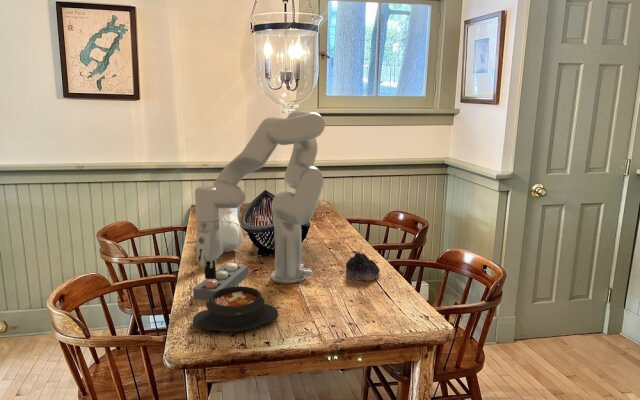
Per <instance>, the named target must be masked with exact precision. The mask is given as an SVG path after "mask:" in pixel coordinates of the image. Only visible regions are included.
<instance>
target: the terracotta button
mask: <svg viewBox="0 0 640 400" xmlns="http://www.w3.org/2000/svg"><path fill="white" fill-rule="evenodd" d="M217 287H218V284H217V280H216V279H209V280H206V281H205V288H208V289H216V288H217Z"/></svg>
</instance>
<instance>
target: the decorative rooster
mask: <svg viewBox="0 0 640 400" xmlns="http://www.w3.org/2000/svg"><path fill="white" fill-rule="evenodd" d="M237 209H238V207H237V208H220V228H221V233H222V241H223V253H229V252H233V251H234V250H237V249H238V248H239V247H240V246H241V245H242V242H243V232H242V229H241V225H240V222H239V217H238V215H237Z"/></svg>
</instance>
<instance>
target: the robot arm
mask: <svg viewBox="0 0 640 400" xmlns="http://www.w3.org/2000/svg"><path fill="white" fill-rule="evenodd" d="M325 127H326V123H325V119H324V118H323V116H322V115H320V114H319V113H317V112H314V111H304V110H294V111H291V112H290V113H288V115H287V117H285V118H282V117H281V118H280V117H272V116H271V117H267V118H265V119H263V120H262V121H261V123H260V124H259V125H258V127H257V128H256V130H255V132H254V133H253V135H252V136H251V138H250V139H249V141H248V143H247V144H246V146H245V147H244V149H243V150H242V151H241V152H240V153H239V154H238V155H237V156H236V157H234V159H231V161H230V162H229V163H227V165H226V166H225V167H224V168H223V169H222V170H221V171H220V174H219V175H218V176H217V178H216V179H215V180H214V183H213V184H212V185H202V186H199V187H198V186H197V187H196V188H195V190H194V203H195V221H196V222H195V223H196V224H195V225H196V227H195V228H196V231H197V233H196V259H197V261H198V260H199V261H200V266H204V268H205V271H204V279H214V278H216V271H217V267H216V266H217V259H218V258H219V257H220V256H222V255H223V253H224V252H223V241H222V233H221V228H220V208H237V207H239V206H240V207H241V206H242V205H243V204H244V202H245V200H246V193H245V191H244V190H243V189H242V188H241V187H240V186H238V184H239V183H240V182H241V180H242V179H243V178H245V176H247V175H248V174H250V173H252V172H256V171H257V170H260V169H262V168H263V167H264V166H265V165H266V164H267V162H268V161H269V159H270V157H271V156H272V154H273V152H274V151H275V150H276V148H277V147H278V145H280V146H288V145H289V146H290V145H293V148H292V153H291V156H290V158H289V161H288V164H287V166H286V167H287V168H286V170H285V174H284V178H283V179H284V183H285V184H286V186H287V187H288V188H290V189H293V190H294V191H295V192H294V193H293V192H291V191H288V190H287V191H281V192H278V193H277V194H276V195H275V196H274V197H273V199H272V202H271V213H272V217H273V218H272V219H273V224H274V262H275V263H274V264H275V265H274V266H275V268H274V270H273V271H272V273H270V278H271V280H272V281H274V282H276V283H280V284H294V283H295V284H296V283H299V282H302V281H303V280H305V278H307V277H312V276H313V270H312V268H306V267H305V264H304V263H302V225H305V224H307V223H308V222H310V221H311V219H312V218H313V217H314V214H315V211H316V209H317V205H318V203H319V199H320V197H321V193H322V191H323V188H324V176H323V173H322V171H321V170H320V169H319V168H318V167H316V166H314V165H315V162H316V157H317V155H318V143H317V139H316V138H319V137H320V136H322V134H323V132H324V131H325ZM206 261H207V262H206Z"/></svg>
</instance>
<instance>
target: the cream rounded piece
mask: <svg viewBox="0 0 640 400" xmlns="http://www.w3.org/2000/svg"><path fill="white" fill-rule="evenodd" d="M225 264H226V271H231V272H236V271H237V265H238V264H237V263H235V262H229V263H225Z"/></svg>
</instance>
